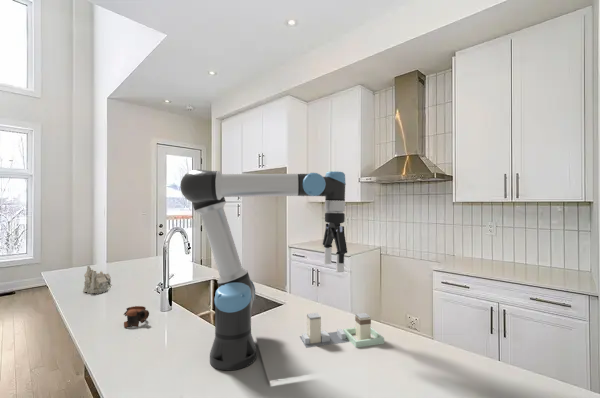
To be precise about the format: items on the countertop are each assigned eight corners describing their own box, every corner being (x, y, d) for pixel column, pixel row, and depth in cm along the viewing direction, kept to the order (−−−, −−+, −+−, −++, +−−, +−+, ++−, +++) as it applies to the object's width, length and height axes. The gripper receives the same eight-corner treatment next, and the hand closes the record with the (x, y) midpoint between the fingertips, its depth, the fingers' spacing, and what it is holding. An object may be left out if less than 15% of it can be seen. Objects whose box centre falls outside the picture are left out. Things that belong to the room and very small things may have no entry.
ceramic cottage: (92, 295, 170) (93, 267, 171) (77, 291, 178) (79, 265, 180) (120, 289, 183) (121, 264, 184) (106, 286, 192) (107, 262, 193)
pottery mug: (116, 329, 127) (119, 308, 131) (133, 330, 135) (136, 311, 139) (140, 323, 124) (143, 302, 128) (157, 325, 132) (158, 306, 136)
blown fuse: (360, 343, 111) (360, 318, 111) (355, 338, 115) (355, 313, 115) (370, 342, 112) (370, 316, 112) (365, 336, 116) (365, 312, 116)
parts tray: (355, 350, 107) (355, 341, 107) (343, 337, 117) (343, 328, 117) (384, 346, 109) (384, 337, 109) (369, 333, 120) (369, 325, 120)
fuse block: (306, 351, 107) (306, 341, 107) (299, 339, 115) (299, 331, 115) (349, 345, 111) (349, 336, 111) (339, 334, 119) (339, 326, 119)
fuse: (310, 343, 110) (310, 317, 110) (307, 338, 113) (306, 313, 113) (320, 342, 111) (320, 316, 111) (317, 337, 114) (317, 312, 114)
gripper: (357, 214, 107) (356, 275, 107) (332, 210, 131) (331, 261, 131) (337, 213, 105) (335, 276, 105) (315, 210, 129) (314, 261, 129)
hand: (333, 267), depth 118 cm, fingers open, 13 cm apart
